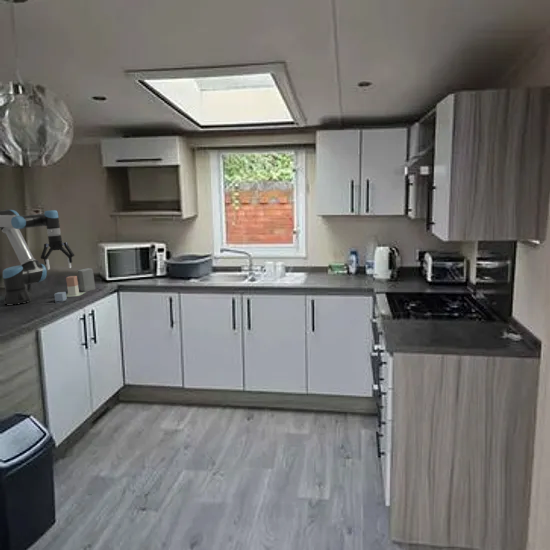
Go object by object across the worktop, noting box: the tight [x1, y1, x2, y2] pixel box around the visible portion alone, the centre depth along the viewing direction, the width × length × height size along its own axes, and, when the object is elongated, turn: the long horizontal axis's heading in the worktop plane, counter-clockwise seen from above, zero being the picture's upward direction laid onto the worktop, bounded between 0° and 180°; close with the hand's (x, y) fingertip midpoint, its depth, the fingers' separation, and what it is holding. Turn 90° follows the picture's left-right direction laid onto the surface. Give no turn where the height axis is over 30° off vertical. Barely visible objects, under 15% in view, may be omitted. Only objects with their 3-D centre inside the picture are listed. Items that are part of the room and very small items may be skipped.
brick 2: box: [65, 275, 79, 288], centre depth 319 cm, size 5×5×6 cm
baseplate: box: [66, 291, 87, 298], centre depth 321 cm, size 12×12×1 cm
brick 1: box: [53, 291, 67, 304], centre depth 305 cm, size 5×5×6 cm
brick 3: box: [66, 284, 80, 295], centre depth 320 cm, size 5×5×6 cm
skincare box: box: [77, 267, 96, 292], centre depth 332 cm, size 8×7×16 cm
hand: (59, 268), depth 305 cm, fingers open, 13 cm apart
